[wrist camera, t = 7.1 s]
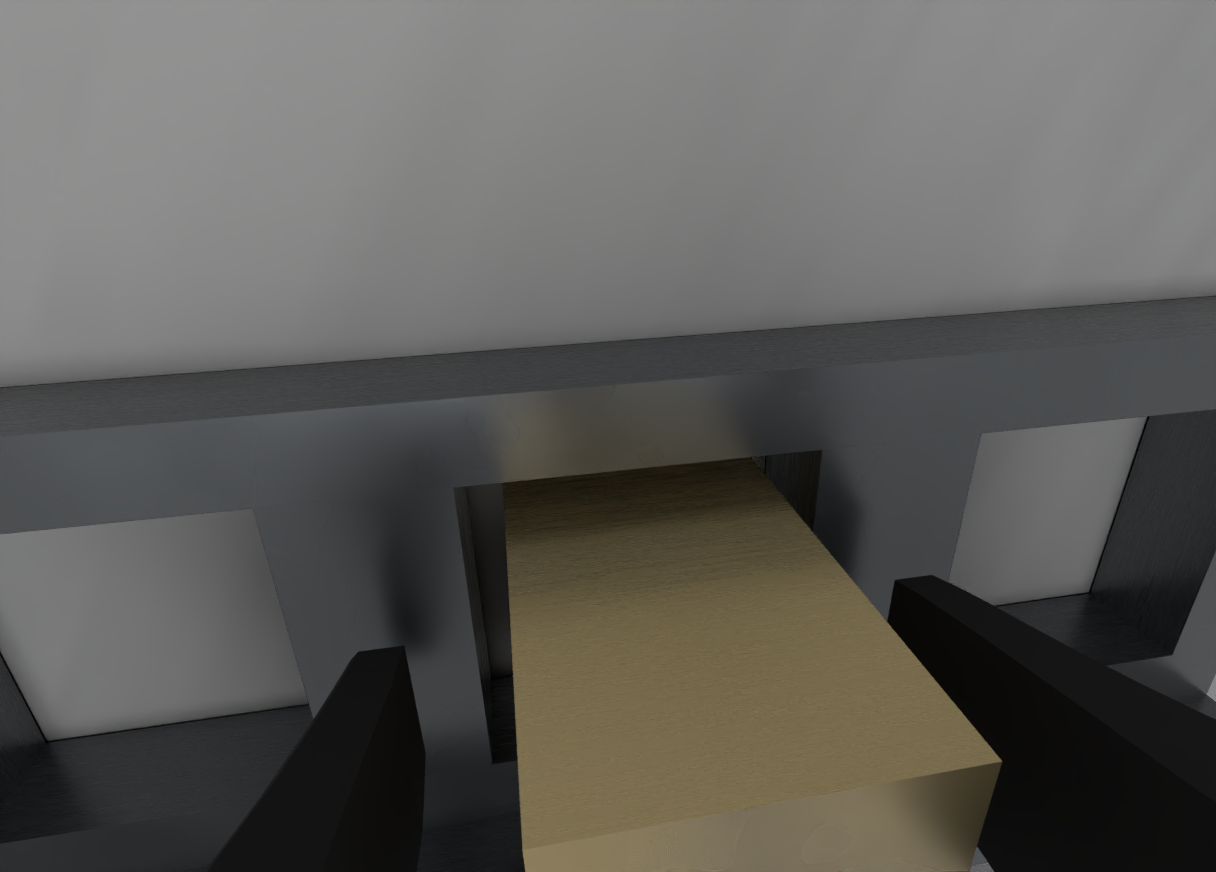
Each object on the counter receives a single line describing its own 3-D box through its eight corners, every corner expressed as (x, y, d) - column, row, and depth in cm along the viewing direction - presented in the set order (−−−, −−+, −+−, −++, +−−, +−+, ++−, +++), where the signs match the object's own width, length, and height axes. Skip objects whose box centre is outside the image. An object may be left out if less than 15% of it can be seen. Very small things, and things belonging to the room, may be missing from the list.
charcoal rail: (1116, 650, 16) (1299, 799, 12) (8, 825, 13) (-181, 1098, 9) (1249, 293, 12) (1558, 357, 9) (-244, 406, 9) (-714, 582, 6)
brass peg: (719, 609, 14) (923, 1021, 7) (522, 637, 13) (557, 1108, 7) (727, 429, 12) (1001, 761, 6) (501, 452, 11) (522, 850, 5)
